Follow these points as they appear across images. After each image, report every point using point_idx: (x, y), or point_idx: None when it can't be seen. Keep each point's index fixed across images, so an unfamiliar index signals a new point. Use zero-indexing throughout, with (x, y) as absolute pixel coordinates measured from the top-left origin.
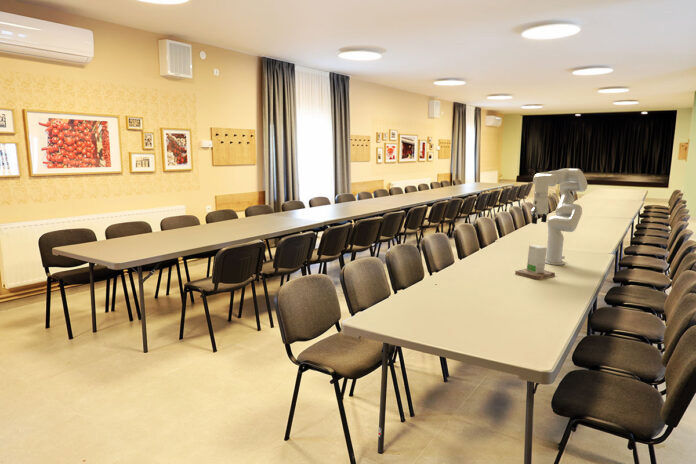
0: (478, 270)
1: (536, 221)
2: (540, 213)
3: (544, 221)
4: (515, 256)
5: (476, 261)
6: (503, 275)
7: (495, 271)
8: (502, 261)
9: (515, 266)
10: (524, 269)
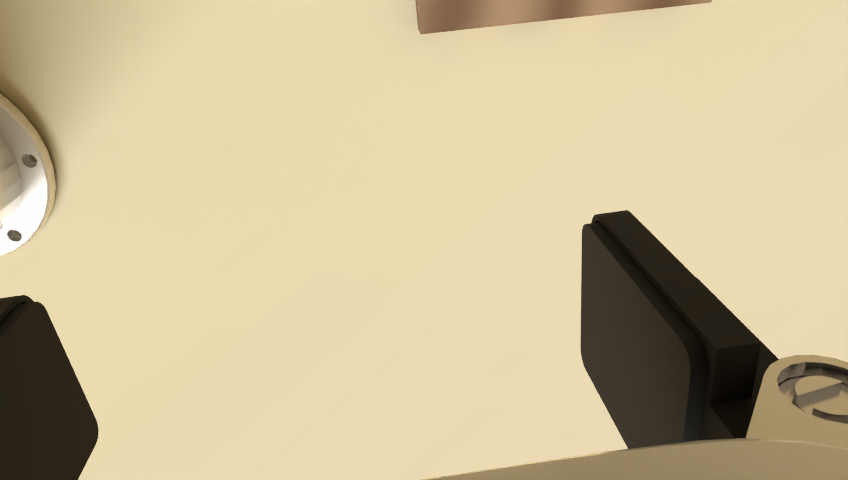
0: (828, 235)
1: (665, 248)
2: (774, 466)
3: (46, 346)
4: (154, 456)
5: (586, 437)
6: (825, 15)
7: (748, 155)
8: (399, 375)
9: (439, 213)
10: (579, 5)
